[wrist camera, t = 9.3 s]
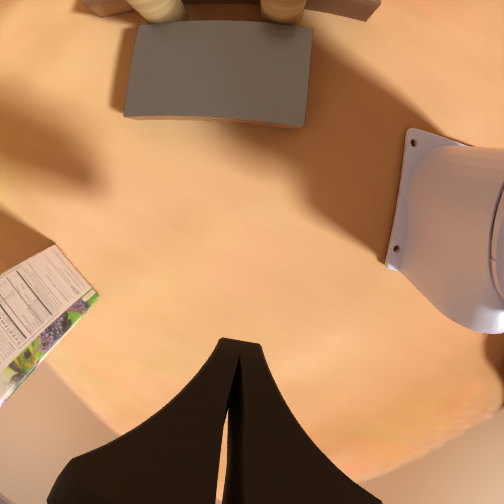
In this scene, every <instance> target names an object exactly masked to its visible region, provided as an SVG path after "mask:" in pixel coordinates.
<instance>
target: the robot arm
mask: <svg viewBox="0 0 504 504" xmlns="http://www.w3.org/2000/svg"><path fill="white" fill-rule="evenodd" d="M412 139H413V140H414V142H415V144H414V146H412V145H411V140H412ZM396 245H398V249H397V250H396V251H393V249H394V247H395V246H396ZM385 265H386V267H387V268H388V269H389V270H395V271H400V272H401V273H402V274H403V275H404V276H405V277H406V278H407V279H408V280H409V281H410V282H411V283H412V284H413V285H414V286H415V287H416V288H417V289H418V290H419V291H420V292H421V293H422V294H423V295H424V296H425V297H426V298H427V299H428V300H429V301H430V302H431V303H432V304H433V305H434V306H435V307H436V308H437V309H438V310H439V311H440V312H441V313H442V314H444V315H445V316H446V317H448V318H449V319H451V320H453V321H454V322H456V323H458V324H460V325H462V326H464V327H466V328H468V329H471V330H474V331H478V332H482V333H488V334H500V333H504V149H498V148H486V147H472V146H467V145H464V144H461V143H459V142H456V141H453V140H451V139H448V138H445V137H442V136H439V135H436V134H433V133H430V132H427V131H424V130H420V129H417V128H409V129H408V130H407V131H406V137H405V147H404V157H403V165H402V173H401V180H400V187H399V194H398V200H397V206H396V211H395V217H394V222H393V227H392V232H391V237H390V242H389V247H388V251H387V256H386V260H385ZM227 411H228V436H227V467H226V476H225V484H224V491H223V499H222V504H382V501H381V500H379V499H378V498H376V497H375V496H373V495H372V494H370V493H369V492H367V491H366V490H365V489H363V488H362V487H360V486H359V485H358V484H356V483H355V482H353V481H352V480H351V479H350V478H349V477H347V476H346V475H345V474H344V473H343V472H342V471H341V470H339V469H338V468H337V467H336V466H335V465H334V464H333V463H332V462H331V461H330V460H329V459H328V458H327V457H326V455H325V454H324V453H323V452H322V451H321V450H320V449H319V448H318V447H317V446H316V445H315V444H314V442H313V441H312V440H311V439H310V437H309V436H308V435H307V434H306V432H305V431H304V430H303V428H302V427H301V426H300V424H299V423H298V421H297V420H296V418H295V417H294V415H293V414H292V412H291V411H290V409H289V407H288V406H287V404H286V402H285V400H284V399H283V397H282V395H281V393H280V391H279V389H278V387H277V385H276V383H275V381H274V379H273V377H272V374H271V372H270V370H269V367H268V365H267V362H266V359H265V356H264V353H263V350H262V347H261V345H260V344H258V343H251V342H246V341H240V340H234V339H229V338H221V339H219V341H218V343H217V345H216V347H215V349H214V351H213V352H212V354H211V355H210V357H209V358H208V360H207V361H206V363H205V364H204V365H203V366H202V368H201V369H200V370H199V372H198V373H197V374H196V375H195V376H194V378H193V379H192V380H191V381H190V382H189V383H188V384H187V385H186V386H185V387H184V388H183V389H182V390H181V391H180V392H179V393H178V394H177V395H176V396H175V397H174V398H173V399H172V400H171V401H170V402H169V403H168V404H166V405H165V406H164V407H163V408H162V409H160V410H159V411H158V412H157V413H155V414H154V415H153V416H151V417H150V418H149V419H147V420H146V421H145V422H143V423H142V424H140V425H139V426H137V427H136V428H134V429H132V430H131V431H129V432H127V433H126V434H124V435H122V436H120V437H119V438H117V439H115V440H113V441H111V442H110V443H108V444H106V445H104V446H101V447H99V448H97V449H95V450H92V451H90V452H87V453H85V454H82V455H80V456H78V457H75V458H73V459H71V460H70V461H69V463H68V464H67V465H66V466H65V468H64V469H63V471H62V472H61V473H60V475H59V476H58V477H57V479H56V481H55V483H54V485H53V487H52V489H51V492H50V494H49V496H48V498H47V503H48V504H215V500H216V490H217V480H218V470H219V461H220V452H221V444H222V435H223V427H224V423H225V419H226V415H227ZM0 504H15V503H13V502H12V501H10V500H9V499H8V498H6V497H5V496H4V495H2V494H1V493H0Z"/></svg>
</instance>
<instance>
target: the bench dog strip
mask: <svg viewBox="0 0 504 504" xmlns="http://www.w3.org/2000/svg"><path fill="white" fill-rule="evenodd" d="M206 3H245V4H261V22H265V23H275V24H284V25H292V26H299V24H300V21H301V18H302V14H303V11H304V9H308V10H314V11H320V12H325V13H331V14H335V15H340V16H345V17H349V18H353V19H357V20H361V21H365V22H366V21H367V20H368V18H369V17H370V16H371V15H372V14H373V13H374V11H375V10H376V9H377V8H378V7H379V6H380V4H381V0H83V2H82V4H83V5H85V6H86V7H88V8H89V9H91V10H92V11H94V12H95V13H97V14H98V15H99V16H101V17H102V18H103V17H107V16H112V15H116V14H121V13H126V12H132V11H137V12H138V13H139V14H140V15H141V16H142V17H143V18H144V19H145V20H146V21H147V22H148V23H149V24H154V23H164V22H177V21H188V18H189V14H188V12H187V10H186V8H185V6H184V5H187V4H206Z"/></svg>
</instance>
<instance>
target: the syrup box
mask: <svg viewBox="0 0 504 504" xmlns="http://www.w3.org/2000/svg"><path fill="white" fill-rule="evenodd" d="M99 298H100V297H99V294H98V293H97V292H96V291H95V290H94V289H93V287H92V286H91V285H90V284H89V283H88V282H87V281H86V280H85V279H84V277H83V276H82V275H81V274H80V273H79V272H78V270H77V269H76V268H75V267H74V266H73V265H72V263H71V262H70V261H69V260H68V259H67V258H66V257H65V255H64V254H63V253H62V252H61V251H60V249H59V248H58V247H57V246H56V245H55V244H54V245H52V246H50V247H48V248H46V249H44V250H42V251H41V252H39V253H37V254H35V255H33V256H31V257H29V258H28V259H26V260H24V261H22V262H20V263H18V264H17V265H15V266H13V267H12V268H10V269H8V270H7V271H5V272H3V273H1V274H0V407H1V406H2V405H3V404H4V403H5V402H6V401H7V399H8V398H9V397H10V396H11V395H12V394H13V393H14V391H15V390H16V389H17V388H18V387H19V386H20V385H21V384H22V383H23V382H24V381H25V379H27V377H28V376H29V375H30V374H31V373H32V372H33V371H34V370H35V368H36V367H37V366H38V365H39V364H40V363H41V361H42V360H43V359H44V358H45V357H46V356H47V355H48V354H49V353H50V351H51V350H52V349H53V348H54V347H55V346H56V345H57V344H58V343H59V342H60V341H61V340H62V338H63V337H64V336H65V335H66V334H67V333H68V332H69V331H70V330H71V329H72V328H73V327H74V326H75V325H76V324H77V323H78V322H79V321H80V319H81V318H82V317H83V316H84V315H85V314H86V313H87V311H88V310H89V309H90V308H91V307H92V306H93V305H94V304H95V302H96V301H97V300H98V299H99Z"/></svg>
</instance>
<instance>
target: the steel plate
mask: <svg viewBox="0 0 504 504" xmlns="http://www.w3.org/2000/svg"><path fill="white" fill-rule="evenodd" d="M312 35H313V29H311V28H305V27H299V26H292V25H284V24H275V23H265V22H252V21H231V20H198V21H177V22H164V23H154V24H146V25H139V28H138V32H137V36H136V41H135V46H134V51H133V56H132V62H131V67H130V73H129V80H128V86H127V93H126V101H125V109H124V117H126V118H131V119H135V120H199V121H219V122H233V123H245V124H256V125H265V126H274V127H282V128H289V129H297V130H300V129H301V128H303V127H304V121H305V111H306V102H307V92H308V82H309V71H310V60H311V48H312Z"/></svg>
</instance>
